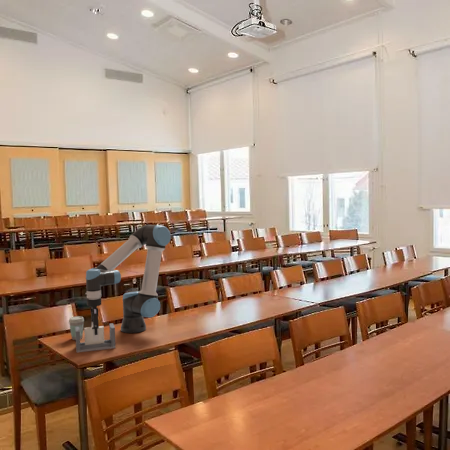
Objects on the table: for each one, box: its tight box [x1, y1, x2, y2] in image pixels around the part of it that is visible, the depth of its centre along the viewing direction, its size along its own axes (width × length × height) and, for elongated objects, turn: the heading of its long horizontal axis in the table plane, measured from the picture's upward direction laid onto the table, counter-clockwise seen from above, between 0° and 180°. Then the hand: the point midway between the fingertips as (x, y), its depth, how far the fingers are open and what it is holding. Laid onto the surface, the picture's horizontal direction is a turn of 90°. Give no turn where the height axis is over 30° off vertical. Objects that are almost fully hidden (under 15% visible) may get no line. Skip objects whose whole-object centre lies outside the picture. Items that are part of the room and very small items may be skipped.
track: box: [75, 323, 116, 353], centre depth 260 cm, size 20×10×11 cm, turn 109°
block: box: [83, 325, 105, 345], centre depth 260 cm, size 10×3×10 cm, turn 108°
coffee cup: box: [68, 315, 85, 341], centre depth 277 cm, size 9×9×12 cm
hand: (95, 337), depth 260 cm, fingers open, 13 cm apart
